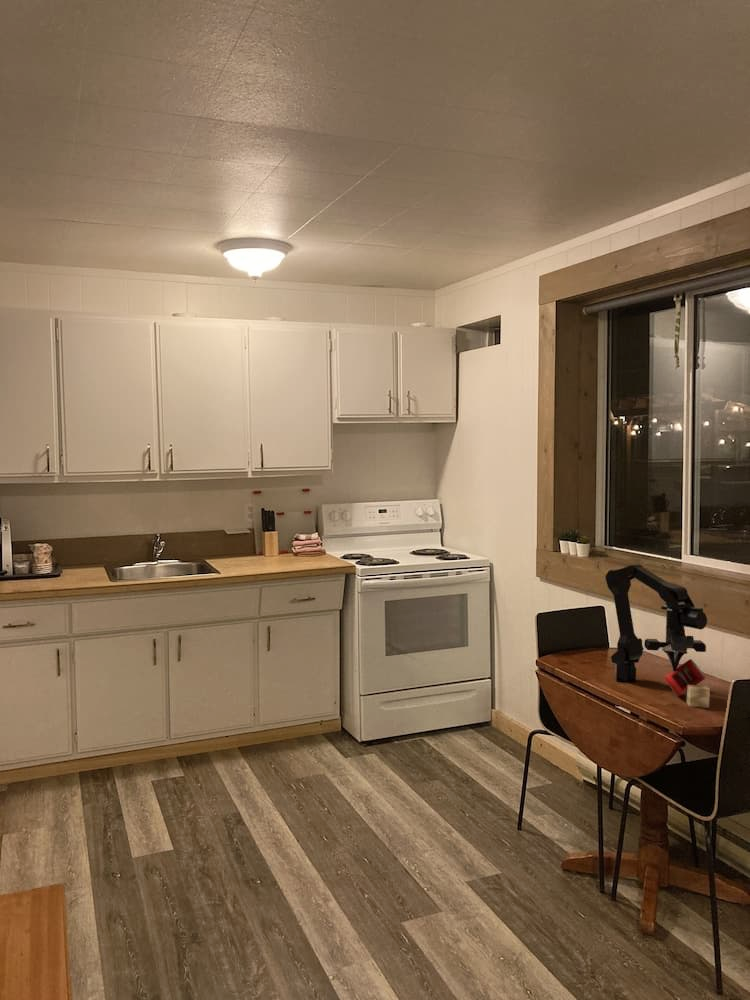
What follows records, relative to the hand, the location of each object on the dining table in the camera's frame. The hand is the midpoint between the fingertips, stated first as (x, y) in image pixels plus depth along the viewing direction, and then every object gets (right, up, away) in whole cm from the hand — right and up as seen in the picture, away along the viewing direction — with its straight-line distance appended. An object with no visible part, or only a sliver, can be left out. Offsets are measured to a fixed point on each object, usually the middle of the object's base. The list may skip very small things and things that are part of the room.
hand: (674, 670), depth 280 cm
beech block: (+5, -9, -8) cm, 13 cm away
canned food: (-1, -6, +1) cm, 6 cm away
